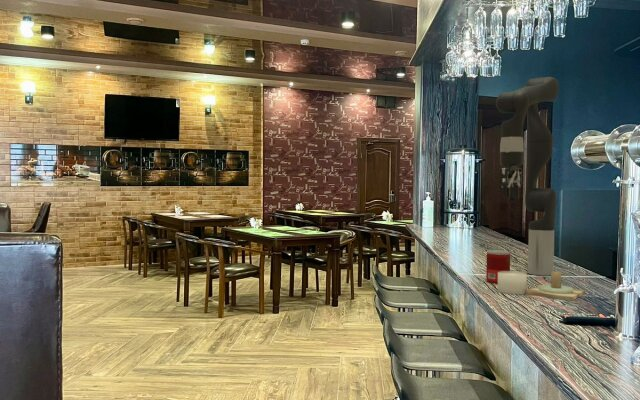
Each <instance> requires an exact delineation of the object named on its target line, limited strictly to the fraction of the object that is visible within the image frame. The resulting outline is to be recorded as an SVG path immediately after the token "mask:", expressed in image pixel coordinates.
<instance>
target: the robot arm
mask: <svg viewBox="0 0 640 400" xmlns="http://www.w3.org/2000/svg"><path fill="white" fill-rule="evenodd" d="M559 92H560V87H559V82H558V80H557V79H556V78H555V77H552V76H545V77H536V78H529V79H528V80H527V82H526V86H523V87H520V88H518V89H516V90H511V91H505V92H501V93H500V94H499V95H497V98H496V101H495V107H496V109H497V111H498V112H499V113H502V114H514V116H513V117H511V118H509V119H506V120H503V121H502V123H501V127H500V129H501V133H500V144H499V146H500V148H499V164H500V165H501V166H503V167H500V168H499V186H501V188H502V199H503V200H509V199H510V197H511V198H512V199H519V198H520V188H521V186H523V168H522V167H521V168H519V166H522V165H524V151H525V150H524V148H525V147H524V123H525V119H526V118H527V119H526V120H527V123H526V124H527V125H526V126H527V127H526V129H527V130H526V131H527V132H526V181H525V193H524V194H525V195H524V206H525V209H526V210H527V212H535V213H544V214H543V216H542V217H540V218H539V219H536V220H535V219H534V220H532V221H530V222H529V223H528V246H527V248H528V250H527V251H528V255H527V274H529V275H534V276H545V277H546V276H548V277H549V276H551V272H552V271H554V268H555V267H554V265H555V263H554V260H555V226H556V225H555V224H556V207H557V193H556V190H555V189H554V188H548V187H537V184H538V183H537V182H538V178H539V177H540V175H541V173H542V171H543V170H544V168H545V167H546V165H547V164H548V162H549V161H550V160H551V157H552V155H553V142H554V141H553V135H552V133H551V131H550V129H549V128H548V126H547V125H546V123H545V122H544V120H543V119H542V116H541V115H540V112H539V108H538V107H539V106H538V103H545V102H546V103H547V102H552V101H555V100H556V99H557V97H558V95H559ZM526 116H527V117H526Z"/></svg>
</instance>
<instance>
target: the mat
mask: <svg viewBox="0 0 640 400" xmlns="http://www.w3.org/2000/svg"><path fill="white" fill-rule="evenodd" d="M540 285H541V284H539V285H537V286H535V287H533V288H530V289H527V291H526V293H525V295H531V296H538V297H545V298H553V299H557V300H558V299H559V300H567V301H574V300H577V299H578V298H580V297H581V296H583V295H585V294H586V290H585V289H578V288H573V293H569V294H555V293H548V292H543V291H541V290H539V286H540Z"/></svg>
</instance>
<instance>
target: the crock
mask: <svg viewBox="0 0 640 400" xmlns="http://www.w3.org/2000/svg"><path fill="white" fill-rule="evenodd" d="M527 287H528V273H526V272H524V271H523V272H522V271H516V270H515V271H513V270H510V271H500V272H498V284H497V292H499V293H501V294H506V295H526V291H527V290H528V288H527Z"/></svg>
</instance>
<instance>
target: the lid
mask: <svg viewBox="0 0 640 400" xmlns="http://www.w3.org/2000/svg"><path fill="white" fill-rule="evenodd" d="M550 277H551V279H550V282H551V283H550V284H548V283H547V284H539V285H540V286H539V285H538V286H539V290H541V291H543V292H548V293H555V294H569V293H573V289H574V288H573V287H571V286H568V285H562V271H559V270H558V271H555V270H553V271H552V272H551V275H550Z"/></svg>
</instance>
